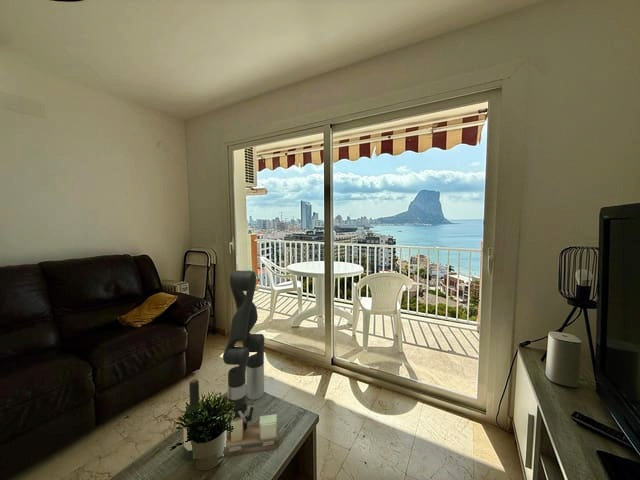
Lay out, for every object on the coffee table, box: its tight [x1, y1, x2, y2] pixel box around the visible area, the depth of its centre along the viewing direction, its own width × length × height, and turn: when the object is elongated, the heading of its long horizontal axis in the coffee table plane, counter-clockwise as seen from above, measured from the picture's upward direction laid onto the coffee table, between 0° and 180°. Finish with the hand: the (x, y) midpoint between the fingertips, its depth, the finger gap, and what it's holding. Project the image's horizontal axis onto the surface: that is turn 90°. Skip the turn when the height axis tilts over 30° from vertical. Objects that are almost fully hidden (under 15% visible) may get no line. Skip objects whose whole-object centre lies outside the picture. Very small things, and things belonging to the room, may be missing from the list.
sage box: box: [259, 413, 278, 441], centre depth 106 cm, size 5×7×8 cm
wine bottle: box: [183, 378, 200, 462], centre depth 101 cm, size 8×8×30 cm
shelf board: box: [223, 423, 279, 458], centre depth 107 cm, size 12×24×4 cm, turn 101°
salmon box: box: [231, 417, 244, 442], centre depth 108 cm, size 5×7×8 cm
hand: (237, 430), depth 108 cm, fingers open, 5 cm apart
